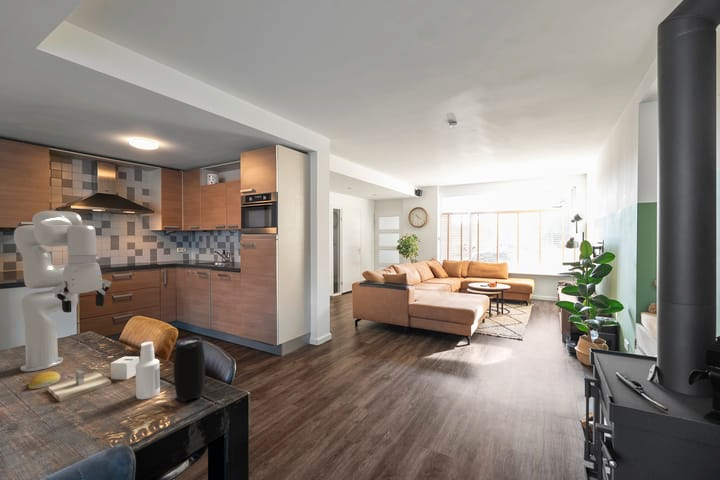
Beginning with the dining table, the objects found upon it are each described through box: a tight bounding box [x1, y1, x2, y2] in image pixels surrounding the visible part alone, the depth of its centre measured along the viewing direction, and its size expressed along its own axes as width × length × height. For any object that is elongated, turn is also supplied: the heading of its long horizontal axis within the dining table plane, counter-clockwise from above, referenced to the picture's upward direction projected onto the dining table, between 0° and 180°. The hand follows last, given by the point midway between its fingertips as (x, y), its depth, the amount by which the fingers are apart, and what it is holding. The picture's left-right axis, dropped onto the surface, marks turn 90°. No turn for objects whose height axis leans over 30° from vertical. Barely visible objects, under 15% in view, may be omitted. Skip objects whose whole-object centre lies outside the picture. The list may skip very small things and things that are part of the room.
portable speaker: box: [173, 335, 206, 404], centre depth 105 cm, size 9×9×20 cm
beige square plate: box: [47, 369, 112, 403], centre depth 112 cm, size 14×14×6 cm
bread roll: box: [28, 370, 61, 390], centre depth 116 cm, size 8×9×4 cm
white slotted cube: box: [110, 355, 140, 381], centre depth 122 cm, size 6×6×6 cm
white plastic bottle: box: [135, 341, 161, 400], centre depth 107 cm, size 7×7×18 cm
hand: (84, 308), depth 109 cm, fingers open, 9 cm apart
